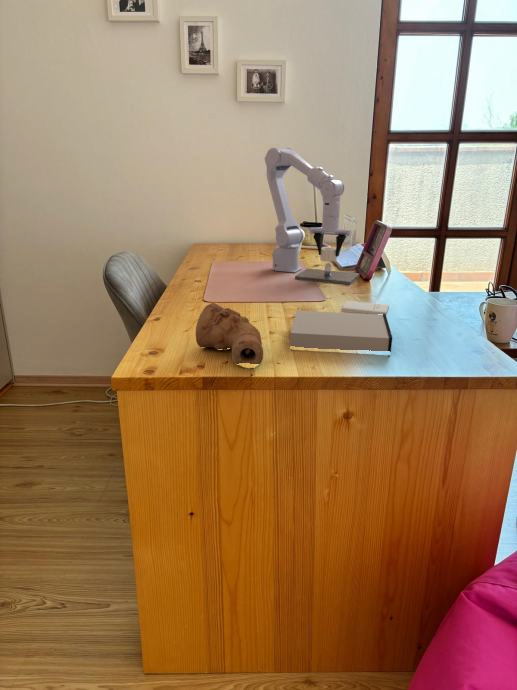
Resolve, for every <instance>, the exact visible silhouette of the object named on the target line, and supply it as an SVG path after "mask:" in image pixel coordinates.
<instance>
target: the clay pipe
mask: <svg viewBox="0 0 517 690" xmlns="http://www.w3.org/2000/svg"><path fill="white" fill-rule="evenodd" d="M195 342H196V343H197V345H198V346H199V348H201V347H212V348H215V350H216V349H223V350H222V351H225V350H224V349H227V348H230V349H232V350H231V357H232V360H233V363H234V364H235V365H236V364H239V363H250V364H260V365H261V364H262V362H263V361H264V360H263V359H264V347H263V344H262V337H261V333H260V331H259V330H258V328H257V327H256V326H255V325H253V324H252V323H251V322H250V320H249V318H247V317H246V316H243V315H241V314H240V312H238V311H236V310H234V309H231V308H230V307H226V308H224V307H222V306H221V305H220V304H217V303H214V302H211V303H208V304H207V305H206V306H205V307H203V309H202V311H201V312H200V314H199V317H198V319H197V322H196V326H195Z"/></svg>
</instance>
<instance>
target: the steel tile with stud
mask: <svg viewBox="0 0 517 690" xmlns="http://www.w3.org/2000/svg"><path fill="white" fill-rule="evenodd" d="M359 277H360V273H358V272H347V271H339V270H337V271H336V270H332V264H331V263H330V262H327V263H325V264H324V269H317V268H306V269H304V270H302V271H301V272H299V273H298V274H296V275H295V276H294V280H302V281H310V282H311V281H312V282H319V283H320V282H322V283H329V284H331V283H333V284H339V285H340V284H341V285H352V284H353V283H354V282H356V280H357V279H358V278H359Z"/></svg>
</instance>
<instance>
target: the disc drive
mask: <svg viewBox="0 0 517 690" xmlns="http://www.w3.org/2000/svg"><path fill="white" fill-rule="evenodd" d="M289 335H290V337H289V341H290V343H289V347H290V346H295V347H304V348H318V349H340V350H369V351H370V350H371V351H390V352H391V353H392V345H393V344H392V343H393V336H392V335H393V334H392V332H391V328H390V325H389V321H388V317H387V315H386V314H383V315H378V314H366V313H356V312H336V311H335V312H332V311H313V310H312V311H310V310H295V314H294V318H293V323H292V326H291V329H290V333H289Z"/></svg>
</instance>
